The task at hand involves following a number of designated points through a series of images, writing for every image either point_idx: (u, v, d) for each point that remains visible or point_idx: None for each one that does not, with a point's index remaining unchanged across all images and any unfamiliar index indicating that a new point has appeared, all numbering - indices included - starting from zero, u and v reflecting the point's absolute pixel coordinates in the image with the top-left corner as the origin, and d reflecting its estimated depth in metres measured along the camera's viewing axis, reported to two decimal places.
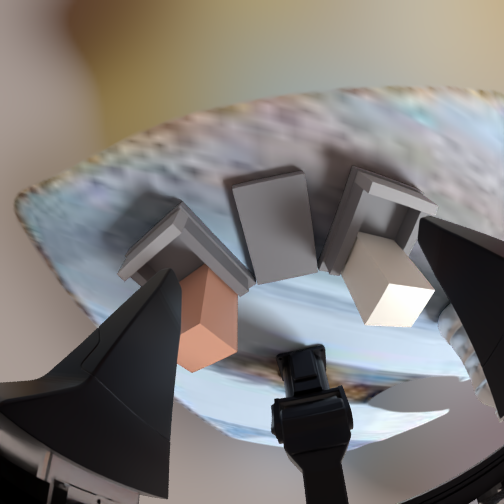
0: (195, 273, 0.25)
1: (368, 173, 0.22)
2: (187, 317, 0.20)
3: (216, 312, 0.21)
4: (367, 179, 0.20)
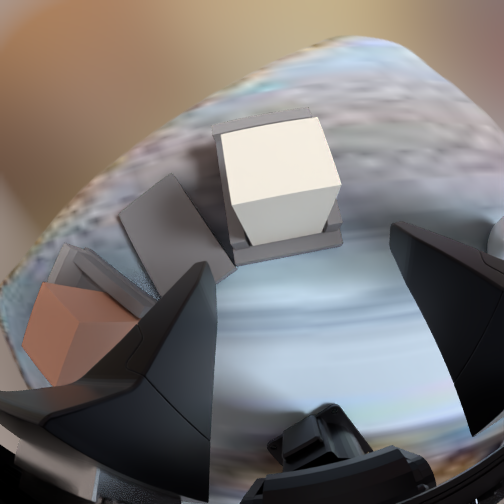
0: None
1: None
2: None
3: (79, 298, 0.15)
4: None
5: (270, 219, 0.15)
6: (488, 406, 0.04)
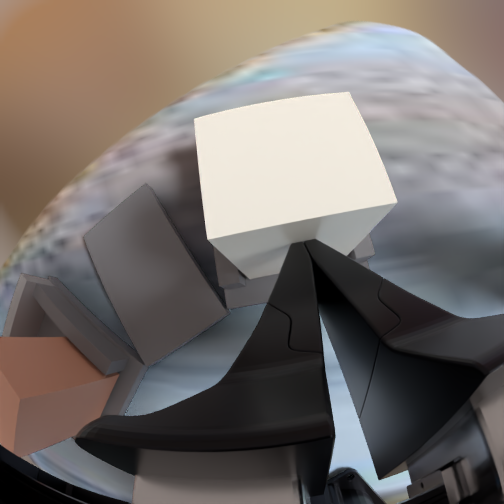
0: None
1: None
2: None
3: (27, 355, 0.09)
4: None
5: (274, 252, 0.09)
6: (383, 456, 0.04)
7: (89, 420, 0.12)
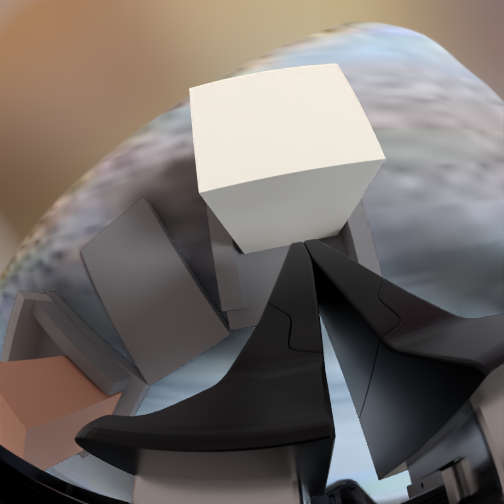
0: None
1: None
2: None
3: (29, 379, 0.09)
4: None
5: (267, 216, 0.10)
6: (383, 456, 0.04)
7: None
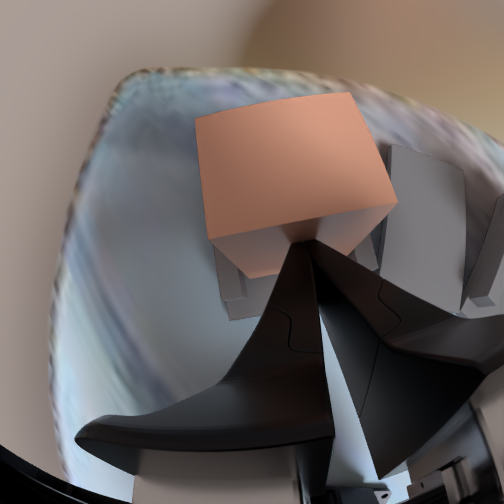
0: None
1: None
2: None
3: None
4: None
5: None
6: (383, 456, 0.04)
7: (269, 271, 0.13)
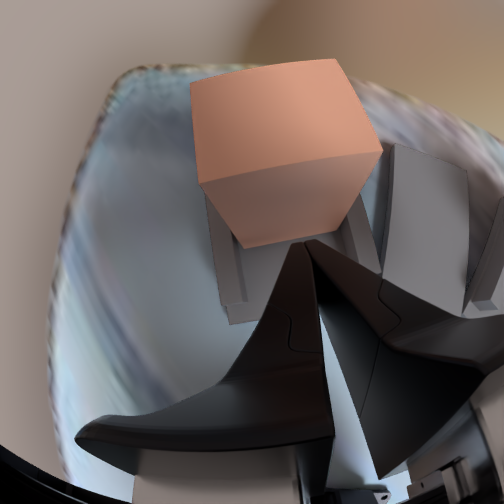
0: None
1: None
2: None
3: None
4: None
5: None
6: (384, 456, 0.04)
7: (262, 238, 0.13)
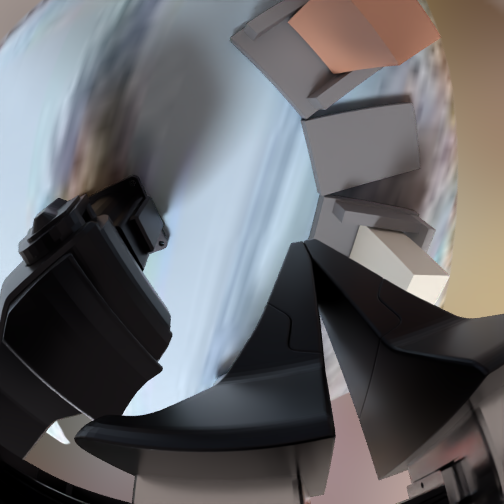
0: None
1: None
2: None
3: None
4: (429, 225, 0.21)
5: (384, 270, 0.18)
6: (384, 456, 0.04)
7: (303, 28, 0.13)
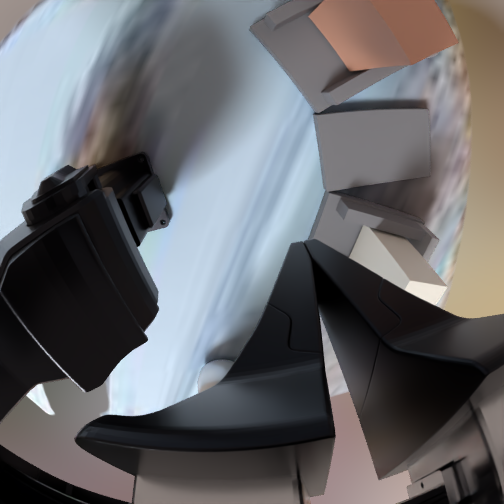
0: None
1: None
2: None
3: None
4: (433, 234, 0.20)
5: (381, 273, 0.18)
6: (383, 456, 0.04)
7: (323, 24, 0.12)
